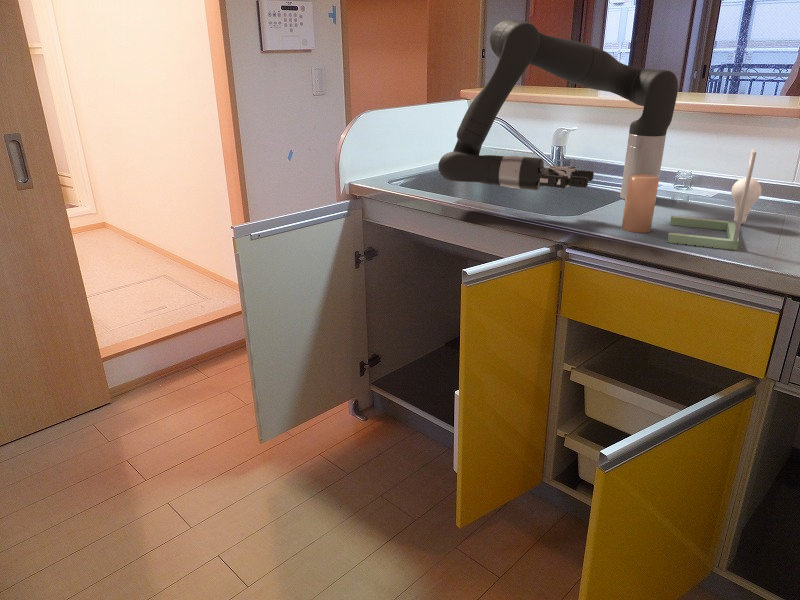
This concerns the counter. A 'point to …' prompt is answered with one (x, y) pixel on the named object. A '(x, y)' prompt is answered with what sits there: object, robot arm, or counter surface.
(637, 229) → the peach cylinder
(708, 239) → the green u-shaped stand
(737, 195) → the lightbulb
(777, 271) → the counter surface
